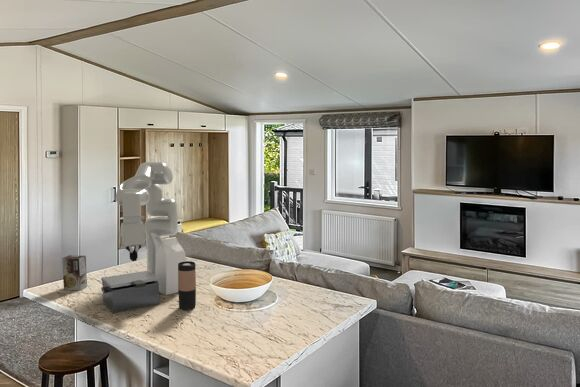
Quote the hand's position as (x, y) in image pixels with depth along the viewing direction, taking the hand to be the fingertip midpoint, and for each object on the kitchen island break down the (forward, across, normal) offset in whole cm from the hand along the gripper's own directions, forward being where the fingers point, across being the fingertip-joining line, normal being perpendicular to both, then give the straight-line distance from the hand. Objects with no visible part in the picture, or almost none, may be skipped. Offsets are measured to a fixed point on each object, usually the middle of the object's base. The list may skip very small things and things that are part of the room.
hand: (133, 260), depth 198 cm
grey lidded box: (+21, +1, -5) cm, 22 cm away
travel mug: (+21, -18, +15) cm, 32 cm away
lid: (+10, 0, -1) cm, 10 cm away
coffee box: (+22, +18, -41) cm, 50 cm away
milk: (+22, -21, -13) cm, 33 cm away
